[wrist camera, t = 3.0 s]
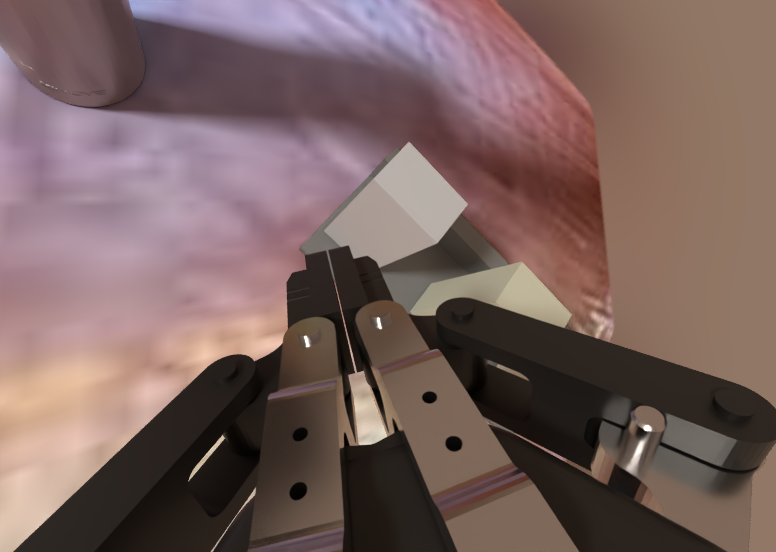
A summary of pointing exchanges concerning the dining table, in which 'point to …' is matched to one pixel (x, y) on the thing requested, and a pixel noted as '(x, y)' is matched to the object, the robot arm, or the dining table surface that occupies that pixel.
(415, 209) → the tile three
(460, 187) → the dining table surface
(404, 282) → the tile stand
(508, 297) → the tile two
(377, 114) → the dining table surface
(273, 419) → the robot arm
